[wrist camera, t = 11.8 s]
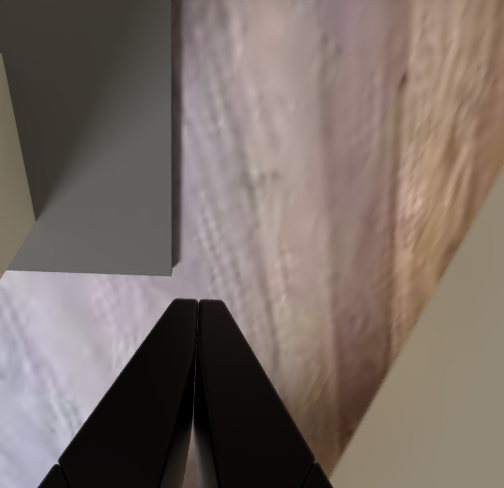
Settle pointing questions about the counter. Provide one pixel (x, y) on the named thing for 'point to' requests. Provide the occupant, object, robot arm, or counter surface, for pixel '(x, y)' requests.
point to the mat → (93, 132)
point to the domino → (11, 182)
